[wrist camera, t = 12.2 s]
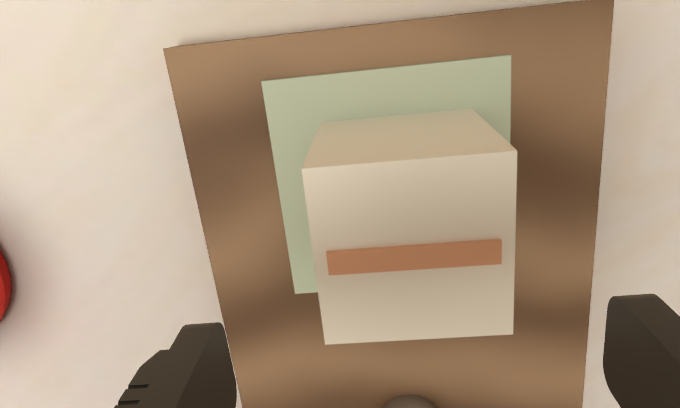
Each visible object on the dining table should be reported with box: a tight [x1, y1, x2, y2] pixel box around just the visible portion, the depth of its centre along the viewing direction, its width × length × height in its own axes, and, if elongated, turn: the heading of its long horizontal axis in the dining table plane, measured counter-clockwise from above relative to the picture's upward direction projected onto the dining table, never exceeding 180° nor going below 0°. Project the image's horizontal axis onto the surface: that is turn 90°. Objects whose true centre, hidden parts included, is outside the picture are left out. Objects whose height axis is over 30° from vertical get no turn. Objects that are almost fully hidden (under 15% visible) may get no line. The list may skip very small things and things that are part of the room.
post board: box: [163, 0, 614, 408], centre depth 21 cm, size 24×16×6 cm, turn 6°
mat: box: [261, 55, 511, 294], centre depth 20 cm, size 9×9×1 cm
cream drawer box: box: [301, 108, 517, 345], centre depth 17 cm, size 6×6×6 cm
